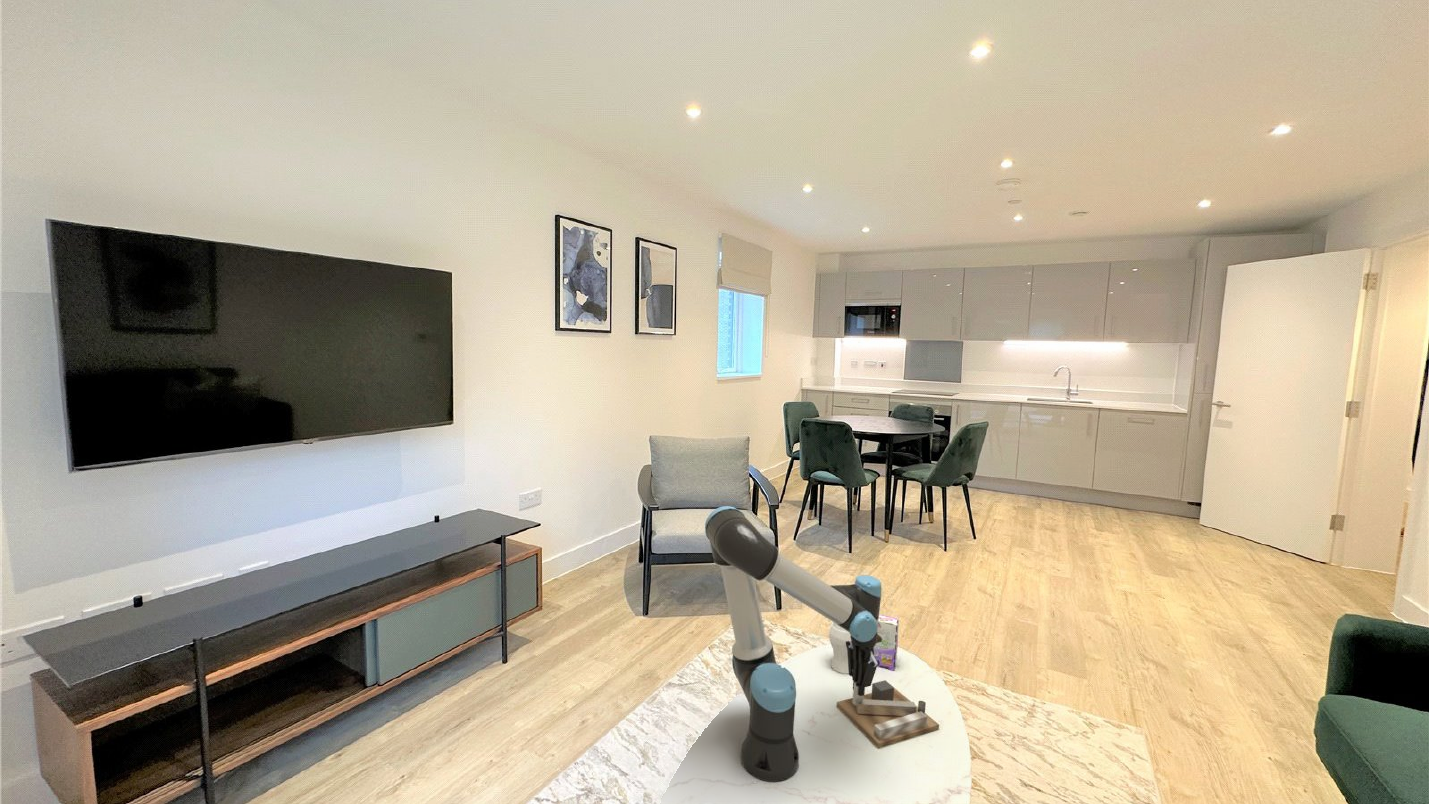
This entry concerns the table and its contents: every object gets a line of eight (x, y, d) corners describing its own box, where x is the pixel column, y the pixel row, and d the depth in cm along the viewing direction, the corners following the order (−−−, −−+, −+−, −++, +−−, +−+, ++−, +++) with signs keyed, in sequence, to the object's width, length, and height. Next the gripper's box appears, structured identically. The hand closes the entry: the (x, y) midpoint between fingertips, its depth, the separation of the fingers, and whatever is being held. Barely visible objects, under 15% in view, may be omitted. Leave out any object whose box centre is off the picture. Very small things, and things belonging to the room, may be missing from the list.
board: (878, 748, 151) (879, 729, 151) (836, 706, 168) (837, 689, 168) (938, 729, 160) (940, 711, 159) (893, 691, 177) (894, 675, 177)
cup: (827, 674, 186) (830, 631, 184) (826, 657, 196) (829, 616, 195) (860, 678, 184) (863, 635, 182) (857, 660, 194) (860, 620, 193)
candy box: (896, 662, 194) (899, 618, 193) (894, 671, 189) (897, 625, 187) (856, 652, 200) (859, 608, 198) (853, 660, 194) (856, 615, 193)
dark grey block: (880, 705, 167) (881, 691, 167) (871, 697, 171) (872, 683, 171) (893, 701, 169) (894, 687, 169) (884, 693, 173) (885, 680, 173)
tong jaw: (857, 713, 163) (858, 704, 162) (855, 708, 165) (856, 699, 165) (915, 716, 162) (916, 707, 162) (913, 711, 165) (913, 701, 164)
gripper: (889, 637, 159) (881, 714, 162) (860, 616, 171) (853, 688, 173) (868, 641, 156) (861, 719, 159) (840, 620, 168) (834, 693, 170)
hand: (857, 703), depth 166 cm, fingers closed
